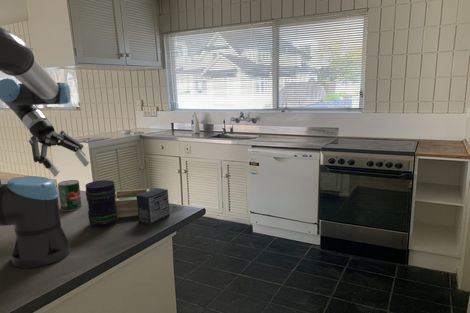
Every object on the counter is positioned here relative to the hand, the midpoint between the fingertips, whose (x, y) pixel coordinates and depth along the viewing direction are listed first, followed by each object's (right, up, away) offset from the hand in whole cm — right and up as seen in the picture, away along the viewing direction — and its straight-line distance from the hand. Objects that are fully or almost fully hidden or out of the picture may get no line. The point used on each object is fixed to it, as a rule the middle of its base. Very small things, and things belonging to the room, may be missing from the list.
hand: (73, 169), depth 127 cm
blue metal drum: (+12, -20, -1) cm, 23 cm away
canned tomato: (-8, -17, +17) cm, 25 cm away
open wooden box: (+18, -17, +12) cm, 28 cm away
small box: (+29, -19, +2) cm, 35 cm away
